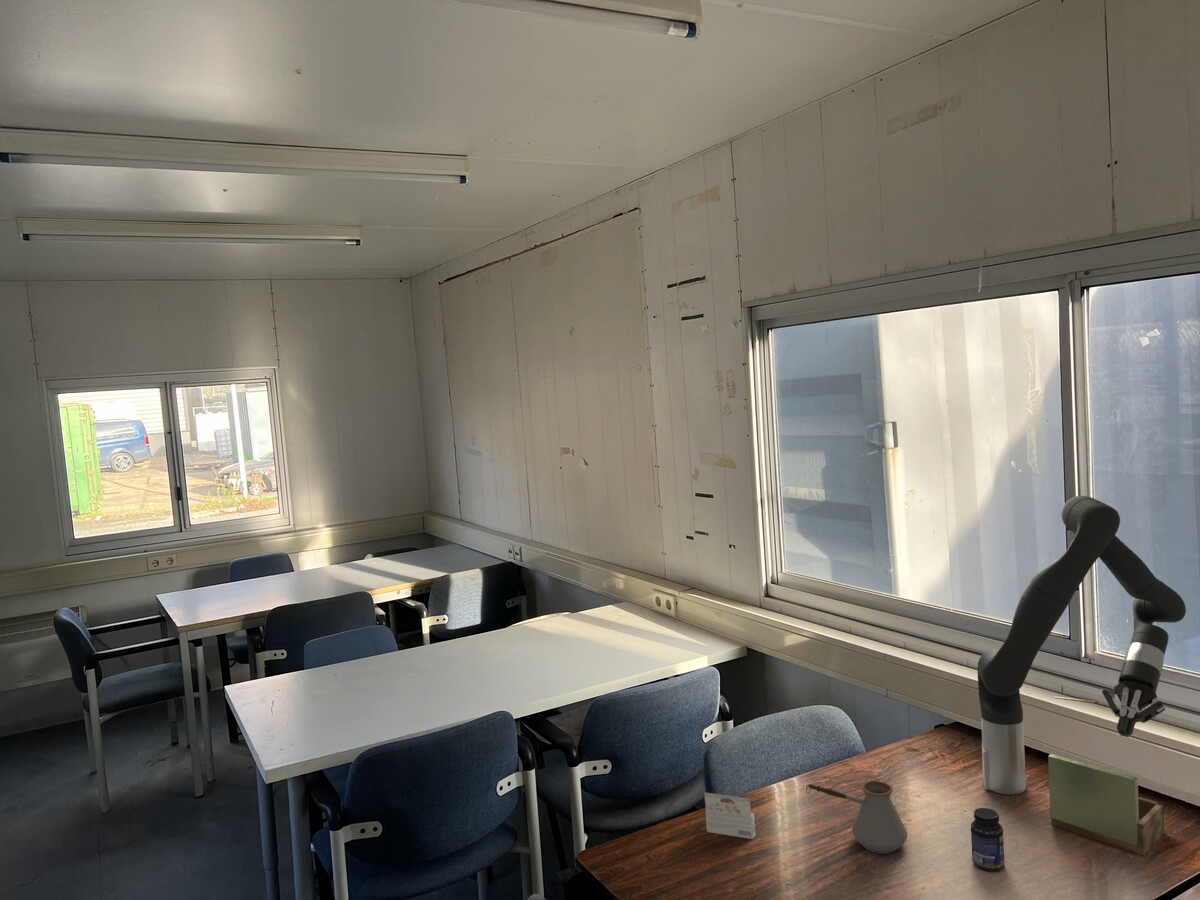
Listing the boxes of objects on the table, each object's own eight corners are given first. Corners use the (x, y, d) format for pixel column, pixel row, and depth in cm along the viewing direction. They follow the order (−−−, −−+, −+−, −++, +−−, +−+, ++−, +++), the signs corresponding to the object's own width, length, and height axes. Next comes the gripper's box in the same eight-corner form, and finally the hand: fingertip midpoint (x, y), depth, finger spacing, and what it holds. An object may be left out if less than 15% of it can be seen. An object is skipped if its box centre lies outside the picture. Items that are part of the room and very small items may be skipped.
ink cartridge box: (709, 827, 199) (706, 787, 198) (756, 834, 194) (753, 793, 193) (706, 832, 197) (703, 792, 196) (753, 840, 192) (750, 798, 191)
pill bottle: (1008, 873, 172) (1006, 821, 171) (976, 872, 174) (973, 820, 173) (1000, 856, 178) (998, 806, 177) (969, 855, 180) (967, 805, 179)
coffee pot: (895, 828, 192) (892, 764, 191) (916, 855, 181) (913, 788, 180) (802, 836, 192) (798, 772, 190) (817, 865, 180) (813, 797, 179)
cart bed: (1074, 804, 197) (1073, 777, 196) (1164, 832, 182) (1163, 803, 182) (1051, 824, 189) (1050, 796, 189) (1143, 855, 175) (1142, 825, 174)
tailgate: (1053, 814, 188) (1051, 753, 187) (1139, 843, 175) (1137, 777, 174) (1050, 817, 187) (1048, 756, 186) (1136, 846, 174) (1134, 780, 173)
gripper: (1106, 653, 201) (1086, 719, 194) (1170, 665, 191) (1152, 735, 184) (1115, 669, 205) (1096, 734, 198) (1179, 681, 195) (1161, 750, 188)
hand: (1123, 734), depth 191 cm, fingers closed
